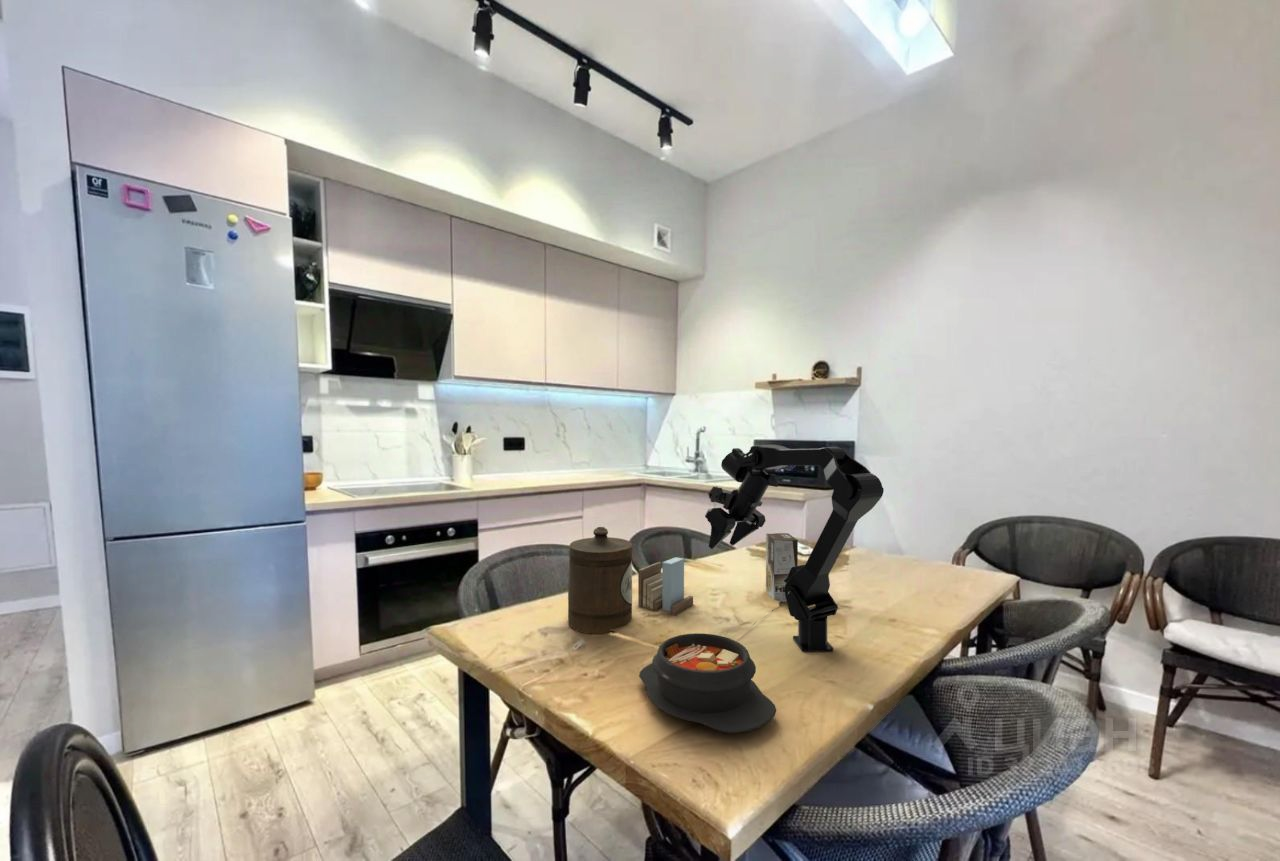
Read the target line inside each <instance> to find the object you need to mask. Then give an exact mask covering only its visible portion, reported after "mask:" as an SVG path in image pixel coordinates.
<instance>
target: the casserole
mask: <svg viewBox="0 0 1280 861" xmlns="http://www.w3.org/2000/svg"><path fill="white" fill-rule="evenodd" d="M756 671H757V667H756V664H755V662H754V660H753V659H752V658H751V656H750V653H749V651H748V649H747V648H746V647H745V646H744V645H742V644H741V643H740V642H738V641H736V640H734V639H732V638H730V637H726V636H723V635H718V634H713V633H700V632H698V633H697V632H696V633H686V634H679V635H675V636H672V637H669V638H668V639H666V640H665V641H663V642H662V643H661V644H660V645H659V647H658V649H657V651H656V654H655V655H654V656H653V659H652V660H651V663H649V664H648V665H646V666H645V667H643V668H642V669H641V670H640V672H639V675H638V677H639V678H640V680H641V681H642V683H643V684H644V686H645V688H646V692H647V695H648V698H649V699H650V701H651V702H652V703H653V704H654V705H655V706H656V707H657V708H658V709H660V711H663V712H664V713H666V714H668V715H670V716H672V717H675V718H677V719H680V720H684V721H689V722H693V723H697V724H701V725H704V726H706V727H709V728H711V729H714V730H715V731H718V732H722V733H727V734H737V733H739V734H740V733H746V732H749V731H753V730H756V729H759V728H762V727H763V726H765V725H766V724H768V723H769V722H771V720H773V718H774V717H775V716H776V714H777V707H776V704H775V703H773V701H772V700H771V699H770V698H769V697H768V696H766V695H764V693H763V692H762V691H761V690H760V687H758V685H757V684H756V682H755V681H754V680H752V679H753V678H754V677H755V674H756Z"/></svg>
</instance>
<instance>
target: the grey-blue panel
mask: <svg viewBox="0 0 1280 861" xmlns="http://www.w3.org/2000/svg"><path fill="white" fill-rule="evenodd" d="M662 572H663V575H662V610H666V611H670V606H671V605H673V604H675V603H677V602H679V601H680V600H682V599H684V598H685V558H682V557H678V556H677V557H676V556H675V557H672V558H670V559H668V560H665V561H662Z"/></svg>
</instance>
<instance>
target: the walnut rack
mask: <svg viewBox="0 0 1280 861" xmlns="http://www.w3.org/2000/svg"><path fill="white" fill-rule="evenodd" d="M637 572H638V573H637V574H638V590H637V591H638V598H637V599H638V605H637V607H640V608H643V609H647V610H652V611H656V612H660V613H664V614H667V615H672V616H674V617H677V616H678V615H680V614H681V613H683V612H685V611H687V610H688V609H689V610H690V609H691V608H692V607H694V606H695V604H694V596H693V595H688V596H685V597H684V599H682V600H680V601H679V602H677V603H675V604H673V605H671V606H670V611H666V610H662V575H663V571H662V562H661V561H657V562H655V563H653V564H650V565H648V566H647V565H646V566H645V567H642V568H639V569H638V571H637Z"/></svg>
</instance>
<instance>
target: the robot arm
mask: <svg viewBox="0 0 1280 861" xmlns="http://www.w3.org/2000/svg"><path fill="white" fill-rule="evenodd" d="M789 466H790V467H791V466H793V467H794V466H797V467H820V468H821V469H822V470H823V474H824V477H825V481H826V483H827V484H828V485H829V486H830V488H831V489H832V494H831V506H832V510H831V513H830V514H829V517H828V519H827V521H826V523H825V525H824V526H823V528H822V530H821V533H820V534H819V537H818V539H817V541H816V543H815V545H814V547H813V548H812V551H811V552H810V554H809V557H808V559H807V560H806V562H805V564H801V565H800V564H799V565H798V566H795V567H792V568H791V569H790V572H789V575H788V577H787V579H785V580H784V582H786V584H785V587H784V592H785V597H786V601H787V602H786V604H787V607H788V608H787V609H788V612H789V615H790V617H793V618H794V620H796V621H797V625H798V632H797V633H798V635H793V636H792V640H793V641H794V642H795V643H796V645H797V646H798V648H799V649H800V650H801V651H802V652H834V649H835V648H834V647H833V646H832V644H830V642H829V641H828V617H831V616H835V615H837V611H838V608H839V606H838V604H837V603H836V601H835V600H834V598H833V597H832V595H831V594H830V592H829V590H830V586H831V582H830V576H829V575H830V573H831V571H832V569H833V567H834V566H835V564H836V562H837V560H838V558H839V556H840V554H841V552H842V551H843V549H844V547H845V545H846V543H847V541H848V539H849V537H850V535H851V533H852V532H853V530H854V528H855V526H856V525H857V523H858V521H859V520H860V519H861V518H862V517H864V516H865V515H867V514H868V513H869V512H870V511H871V510H873V508H874V507H875V506H876V505H877V504H878V502H879V501H880V500H881V499H882V497H883V496H884V495H883V494H884V487H883V484H882V482H881V480H880V478H879V477H878V476H877V475H876V474H873V473H872V472H871V471H870V470H869V469H868V468H867V467H866V466H865V465H863V464H862V463H860V462H858V461H857V460H856V459H855V458H853V457H851V456H850V455H849V454H848V452H847V451H846V450H845V449H843V448H841V447H840V446H825V447H820V448H788V447H786V446H783V445H778V444H755V445H751V446H750V449H749V451H748V452H746V453H745V452H744V451H743V450H742V449H741V448H739V447H738V448H737V447H736V448H735V447H734V448H732V449H731V452H729V453H728V454H726V455H725V456H724V458H723V459H722V460H721V468H722V470H723V471H724V472H725V473H726V474H727V475H728V476H730V477H731V478H732V479H733V480H735V482H737V483H741V484H740V485H739V487H738V489H733V490H732V491H731V490H727V489H725V488H724V489H723V488H722V487H718V486H712V488H711V489H710V491H709V492H708V493H707V494H708V499H710V502H711V503H716V504H720V505H723V506H722V507H712V508H708V509H707V511H706V513H705V514H704V517H705V518H706V520H707V522H708V523H709V524H710V535H709V543H708V547H709V548H710V549H711V550H713V549H715V547H717V546H718V545H720V543H722V542H723V540H725V539H726V538H727V537H728V536H729V535H730V534H731V533H732V535H731V537H730V541H729V544H730V545H731V546H732V547H733V546H735V545H736V544H738V543H739V542H740V541H742V540H744V539H745V538H746V537H747V536H750V535H751V534H752V533H754V532H756V531H757V530H759V528H762V527H763V526H764V525H765V523H766V522H767V520H766V517H765V514H763V513H762V512H761V511H759V510H758V509H757V507H762V505H763V502H762V501H761V500H762V498H763V497H764V495H765V492H766V491H767V489H768V488H769V487H775V488H777V487H778V486H779V484H778V481H777V475H776V474H773V473H767V471H765V470H777V469H782V468H786V467H789ZM724 509H725V510H727V511H725V510H724ZM733 529H734V530H733ZM732 530H733V532H732Z"/></svg>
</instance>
